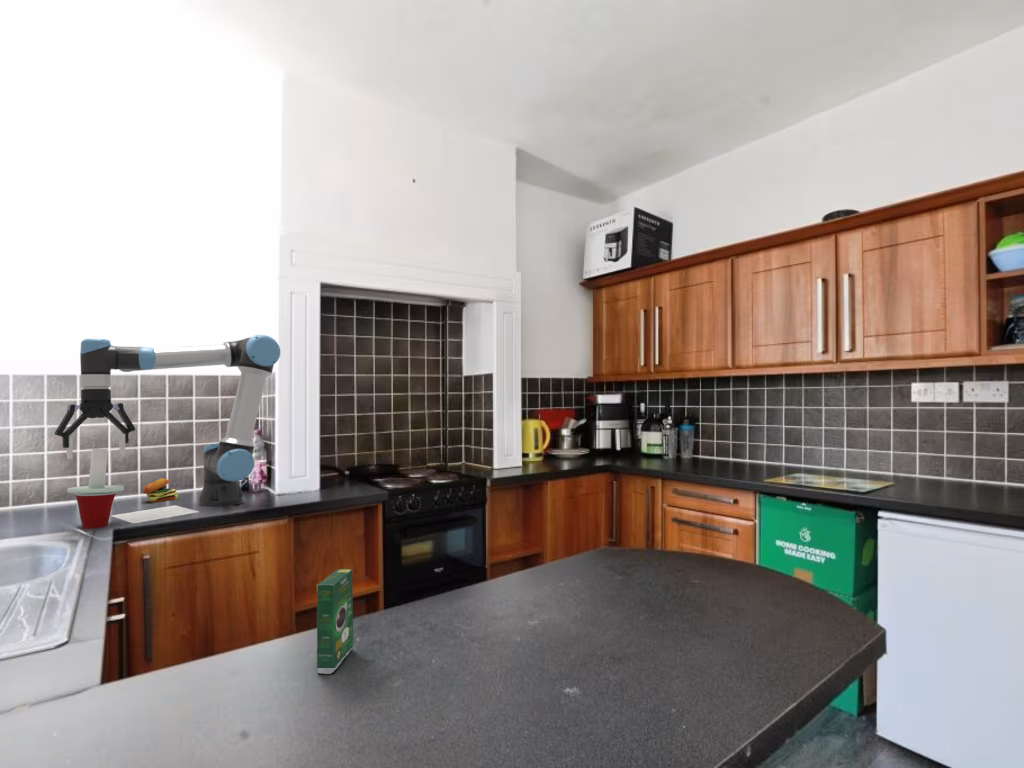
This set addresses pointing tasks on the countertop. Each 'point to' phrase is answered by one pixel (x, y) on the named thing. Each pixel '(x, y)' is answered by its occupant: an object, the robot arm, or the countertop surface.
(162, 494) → the cheeseburger
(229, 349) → the robot arm
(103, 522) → the plastic cup
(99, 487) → the lid
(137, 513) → the mat
